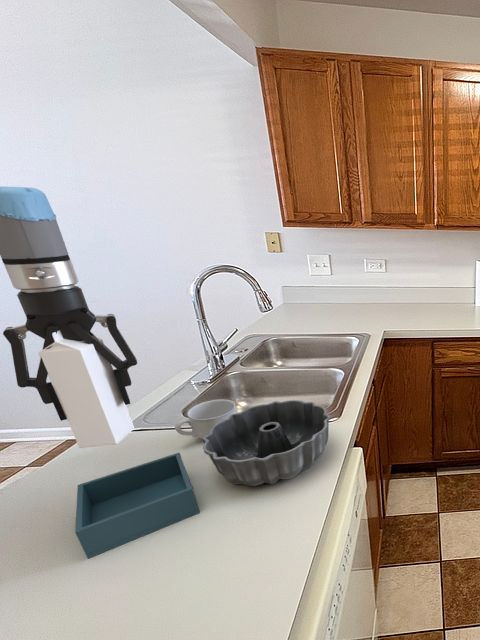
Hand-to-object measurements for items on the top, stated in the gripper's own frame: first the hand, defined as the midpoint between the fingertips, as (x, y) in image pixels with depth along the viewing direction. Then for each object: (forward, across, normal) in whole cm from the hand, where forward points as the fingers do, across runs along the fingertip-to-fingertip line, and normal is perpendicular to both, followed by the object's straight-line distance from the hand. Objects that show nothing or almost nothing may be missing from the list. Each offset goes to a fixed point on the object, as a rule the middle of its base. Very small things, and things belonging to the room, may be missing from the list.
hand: (96, 409), depth 74 cm
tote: (+22, +1, -4) cm, 23 cm away
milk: (+6, 0, 0) cm, 6 cm away
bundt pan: (+22, +27, -5) cm, 35 cm away
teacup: (+22, +17, +19) cm, 34 cm away
